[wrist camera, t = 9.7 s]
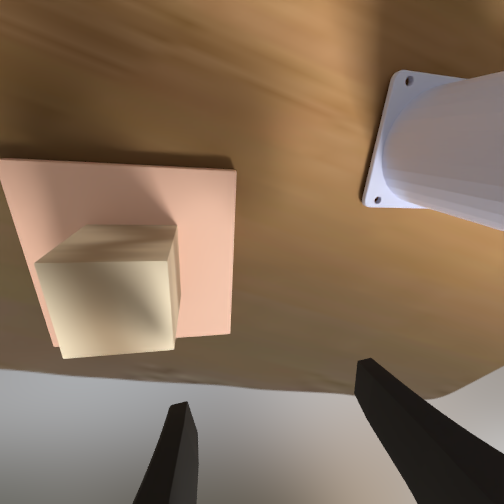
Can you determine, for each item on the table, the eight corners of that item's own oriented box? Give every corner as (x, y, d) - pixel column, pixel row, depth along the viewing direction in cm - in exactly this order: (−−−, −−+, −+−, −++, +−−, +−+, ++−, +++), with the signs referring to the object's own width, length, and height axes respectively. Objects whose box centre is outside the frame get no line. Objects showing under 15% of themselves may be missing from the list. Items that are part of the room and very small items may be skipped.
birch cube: (177, 225, 15) (167, 260, 11) (181, 295, 17) (173, 349, 13) (86, 224, 14) (33, 263, 10) (101, 298, 16) (63, 358, 12)
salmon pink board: (234, 169, 16) (236, 171, 15) (228, 325, 20) (230, 333, 19) (8, 158, 13) (-7, 159, 12) (61, 336, 18) (54, 346, 17)
